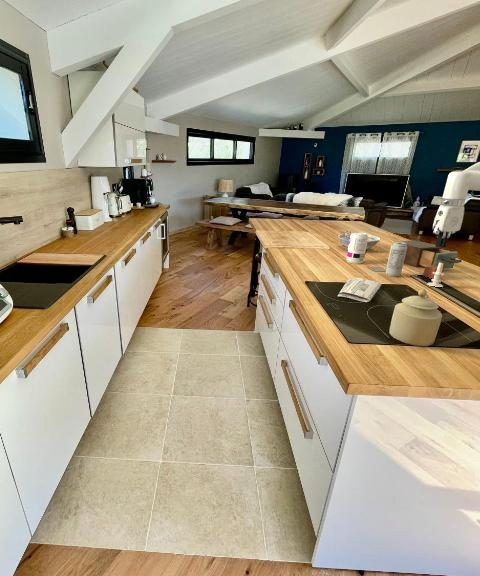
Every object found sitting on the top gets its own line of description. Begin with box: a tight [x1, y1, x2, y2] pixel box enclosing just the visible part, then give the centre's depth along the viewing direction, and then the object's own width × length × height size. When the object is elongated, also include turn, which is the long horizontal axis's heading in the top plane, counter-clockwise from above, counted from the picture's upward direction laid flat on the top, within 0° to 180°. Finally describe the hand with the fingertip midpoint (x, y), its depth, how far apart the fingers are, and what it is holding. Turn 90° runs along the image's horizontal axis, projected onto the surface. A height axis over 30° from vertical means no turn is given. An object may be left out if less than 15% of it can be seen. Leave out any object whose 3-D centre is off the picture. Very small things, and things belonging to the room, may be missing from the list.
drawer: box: [418, 248, 463, 270], centre depth 149 cm, size 18×11×8 cm, turn 14°
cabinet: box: [399, 239, 442, 268], centre depth 160 cm, size 15×13×10 cm
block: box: [422, 265, 444, 280], centre depth 138 cm, size 5×5×5 cm
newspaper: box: [337, 277, 382, 303], centre depth 125 cm, size 23×12×2 cm, turn 141°
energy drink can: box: [385, 241, 407, 278], centre depth 140 cm, size 6×6×15 cm
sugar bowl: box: [388, 288, 443, 347], centre depth 90 cm, size 15×11×15 cm
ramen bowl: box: [337, 230, 381, 250], centre depth 187 cm, size 25×23×8 cm
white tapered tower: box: [427, 262, 445, 288], centre depth 127 cm, size 5×5×10 cm
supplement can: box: [345, 231, 369, 265], centre depth 160 cm, size 8×8×15 cm
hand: (440, 246), depth 135 cm, fingers closed
